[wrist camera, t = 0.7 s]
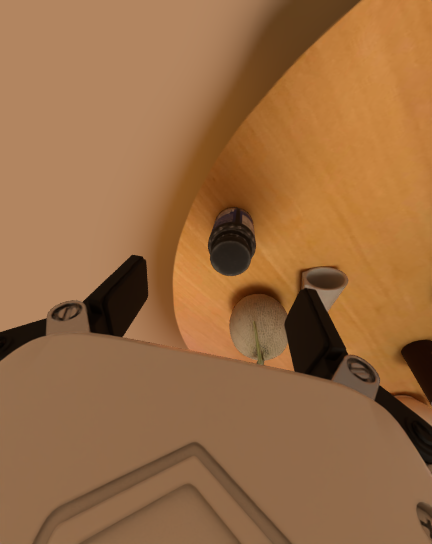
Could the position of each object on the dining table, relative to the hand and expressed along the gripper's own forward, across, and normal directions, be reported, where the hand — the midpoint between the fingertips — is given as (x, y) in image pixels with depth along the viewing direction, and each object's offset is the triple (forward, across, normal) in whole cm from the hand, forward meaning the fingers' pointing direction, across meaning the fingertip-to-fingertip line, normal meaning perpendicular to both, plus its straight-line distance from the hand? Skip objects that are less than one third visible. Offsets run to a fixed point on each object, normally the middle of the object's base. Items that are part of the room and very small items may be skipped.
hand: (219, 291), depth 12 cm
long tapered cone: (+21, -20, +17) cm, 33 cm away
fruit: (+22, -8, +18) cm, 29 cm away
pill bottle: (+21, -1, +3) cm, 22 cm away
